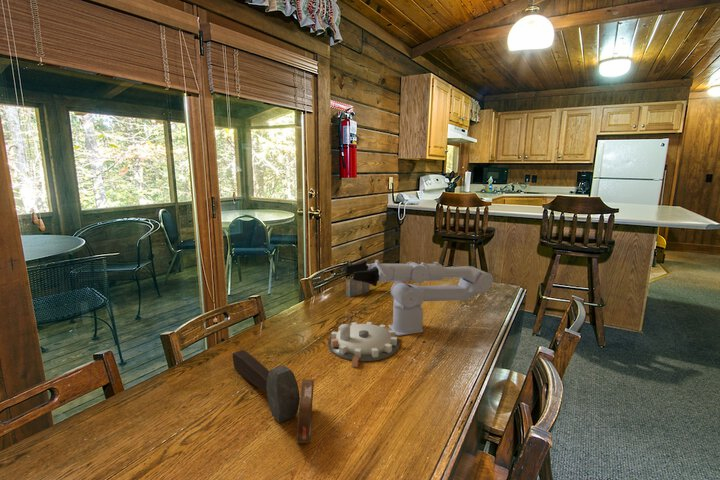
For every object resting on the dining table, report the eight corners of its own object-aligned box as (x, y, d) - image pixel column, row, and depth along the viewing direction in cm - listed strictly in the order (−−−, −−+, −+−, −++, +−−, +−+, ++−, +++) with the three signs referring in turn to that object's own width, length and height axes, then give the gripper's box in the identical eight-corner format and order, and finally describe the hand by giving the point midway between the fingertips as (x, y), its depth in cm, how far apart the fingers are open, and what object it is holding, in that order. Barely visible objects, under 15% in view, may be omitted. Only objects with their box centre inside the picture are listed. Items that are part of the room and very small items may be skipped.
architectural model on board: (364, 290, 165) (364, 269, 163) (369, 292, 163) (369, 270, 161) (345, 296, 158) (345, 274, 156) (349, 298, 155) (349, 276, 153)
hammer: (231, 381, 101) (281, 428, 77) (227, 341, 100) (276, 377, 76) (248, 375, 104) (301, 419, 80) (244, 336, 103) (296, 369, 79)
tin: (301, 404, 86) (300, 371, 84) (315, 403, 86) (314, 370, 84) (295, 453, 71) (294, 414, 69) (312, 452, 71) (311, 414, 70)
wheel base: (382, 324, 129) (383, 320, 128) (414, 357, 107) (414, 352, 107) (320, 333, 122) (320, 329, 121) (340, 370, 100) (340, 365, 100)
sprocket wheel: (381, 323, 128) (381, 307, 126) (408, 351, 109) (408, 332, 108) (323, 332, 121) (323, 315, 120) (341, 363, 102) (341, 343, 101)
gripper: (382, 255, 125) (343, 254, 120) (400, 266, 112) (358, 266, 107) (380, 275, 126) (342, 275, 122) (398, 288, 113) (356, 289, 108)
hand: (349, 272), depth 114 cm, fingers open, 7 cm apart
